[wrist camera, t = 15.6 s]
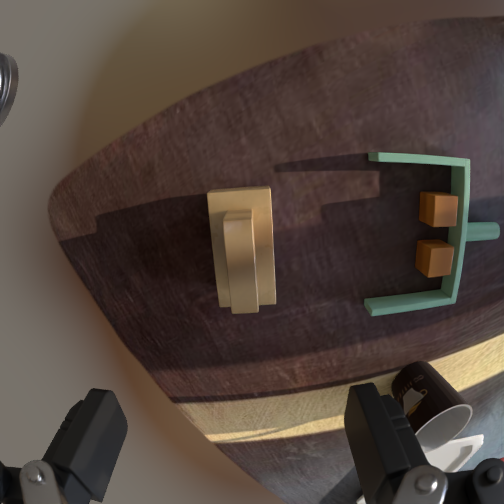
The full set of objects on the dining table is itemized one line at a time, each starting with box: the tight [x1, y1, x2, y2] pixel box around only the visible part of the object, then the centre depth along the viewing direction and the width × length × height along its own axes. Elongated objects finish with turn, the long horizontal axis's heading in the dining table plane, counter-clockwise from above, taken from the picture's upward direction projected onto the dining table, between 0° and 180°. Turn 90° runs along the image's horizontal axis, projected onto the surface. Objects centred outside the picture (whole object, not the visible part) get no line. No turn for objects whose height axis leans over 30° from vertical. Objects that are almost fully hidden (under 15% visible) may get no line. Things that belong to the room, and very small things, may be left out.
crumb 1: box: [419, 191, 458, 227], centre depth 26 cm, size 3×3×3 cm
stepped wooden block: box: [207, 186, 276, 314], centre depth 25 cm, size 10×5×8 cm, turn 4°
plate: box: [356, 434, 483, 504], centre depth 42 cm, size 25×25×2 cm
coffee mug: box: [391, 361, 472, 453], centre depth 30 cm, size 12×9×10 cm
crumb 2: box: [415, 239, 454, 278], centre depth 27 cm, size 3×3×3 cm
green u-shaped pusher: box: [364, 152, 500, 316], centre depth 27 cm, size 17×16×2 cm
